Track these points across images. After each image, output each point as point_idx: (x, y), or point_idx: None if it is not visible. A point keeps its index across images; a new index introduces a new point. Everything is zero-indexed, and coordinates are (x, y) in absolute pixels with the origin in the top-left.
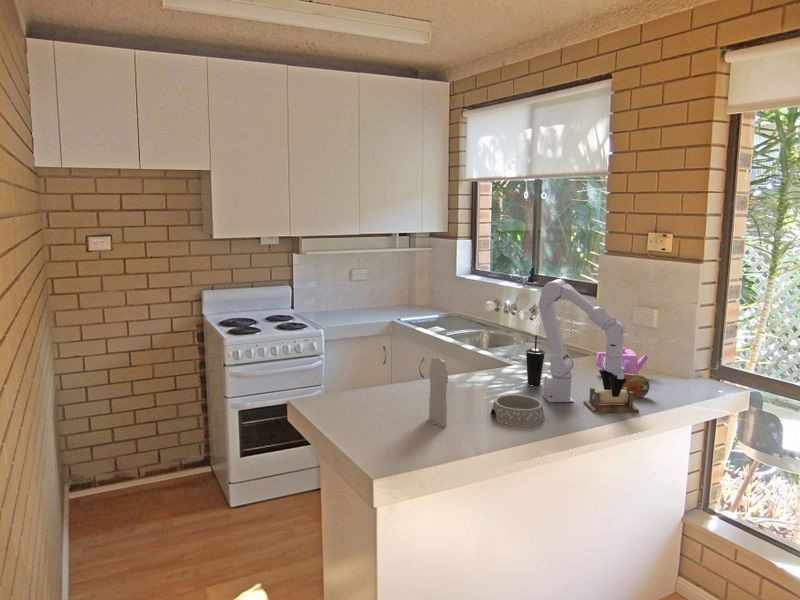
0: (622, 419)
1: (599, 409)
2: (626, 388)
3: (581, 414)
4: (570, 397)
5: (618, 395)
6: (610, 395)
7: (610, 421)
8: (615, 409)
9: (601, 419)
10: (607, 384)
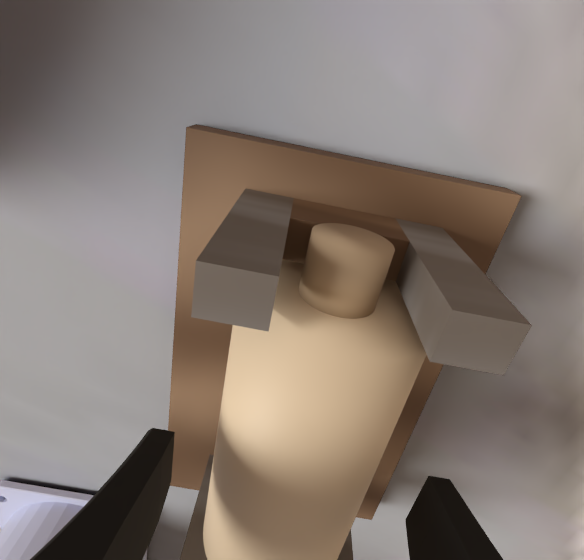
0: (569, 414)
1: (374, 487)
2: (267, 300)
3: (370, 554)
4: (69, 500)
5: (458, 500)
6: (358, 507)
7: (553, 492)
8: (418, 397)
9: (494, 514)
10: (141, 532)
